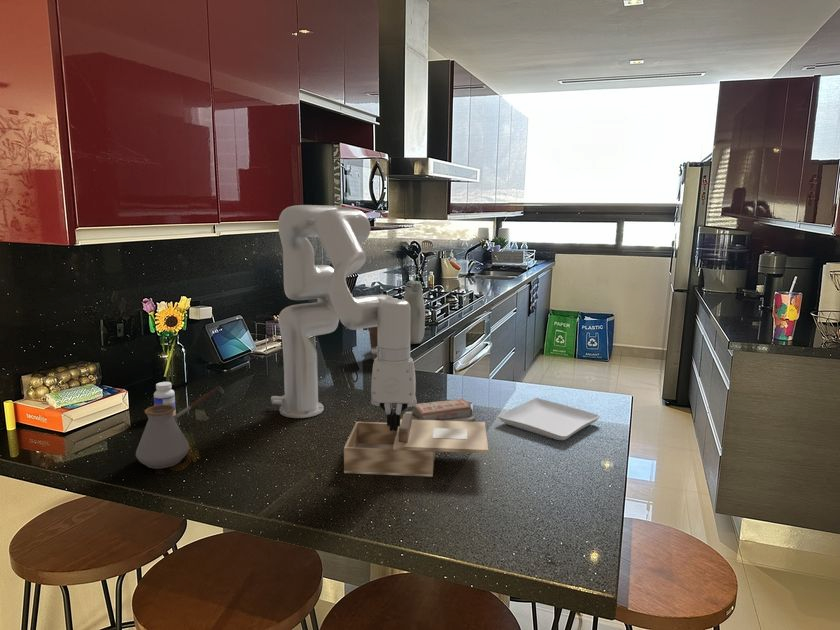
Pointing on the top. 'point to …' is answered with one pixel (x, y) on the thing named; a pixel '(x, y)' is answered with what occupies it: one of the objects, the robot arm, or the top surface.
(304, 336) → the robot arm
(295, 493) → the top surface
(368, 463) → the mailer box
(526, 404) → the salad plate
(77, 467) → the top surface
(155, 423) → the coffee pot
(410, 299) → the glass bottle
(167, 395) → the pill bottle
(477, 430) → the lid
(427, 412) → the packaged product
